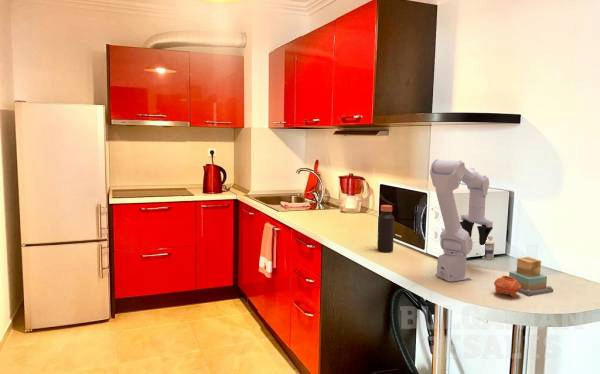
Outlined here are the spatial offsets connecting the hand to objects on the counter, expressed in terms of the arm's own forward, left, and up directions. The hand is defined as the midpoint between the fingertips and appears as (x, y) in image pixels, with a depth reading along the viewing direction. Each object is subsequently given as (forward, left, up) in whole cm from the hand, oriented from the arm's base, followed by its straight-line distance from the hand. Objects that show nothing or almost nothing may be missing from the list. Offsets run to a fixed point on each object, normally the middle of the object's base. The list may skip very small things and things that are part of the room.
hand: (474, 242), depth 174 cm
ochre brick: (+1, -24, -5) cm, 25 cm away
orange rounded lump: (-10, -26, -11) cm, 30 cm away
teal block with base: (+1, -24, -10) cm, 26 cm away
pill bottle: (+16, +10, -11) cm, 21 cm away
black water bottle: (-18, +34, -11) cm, 40 cm away
